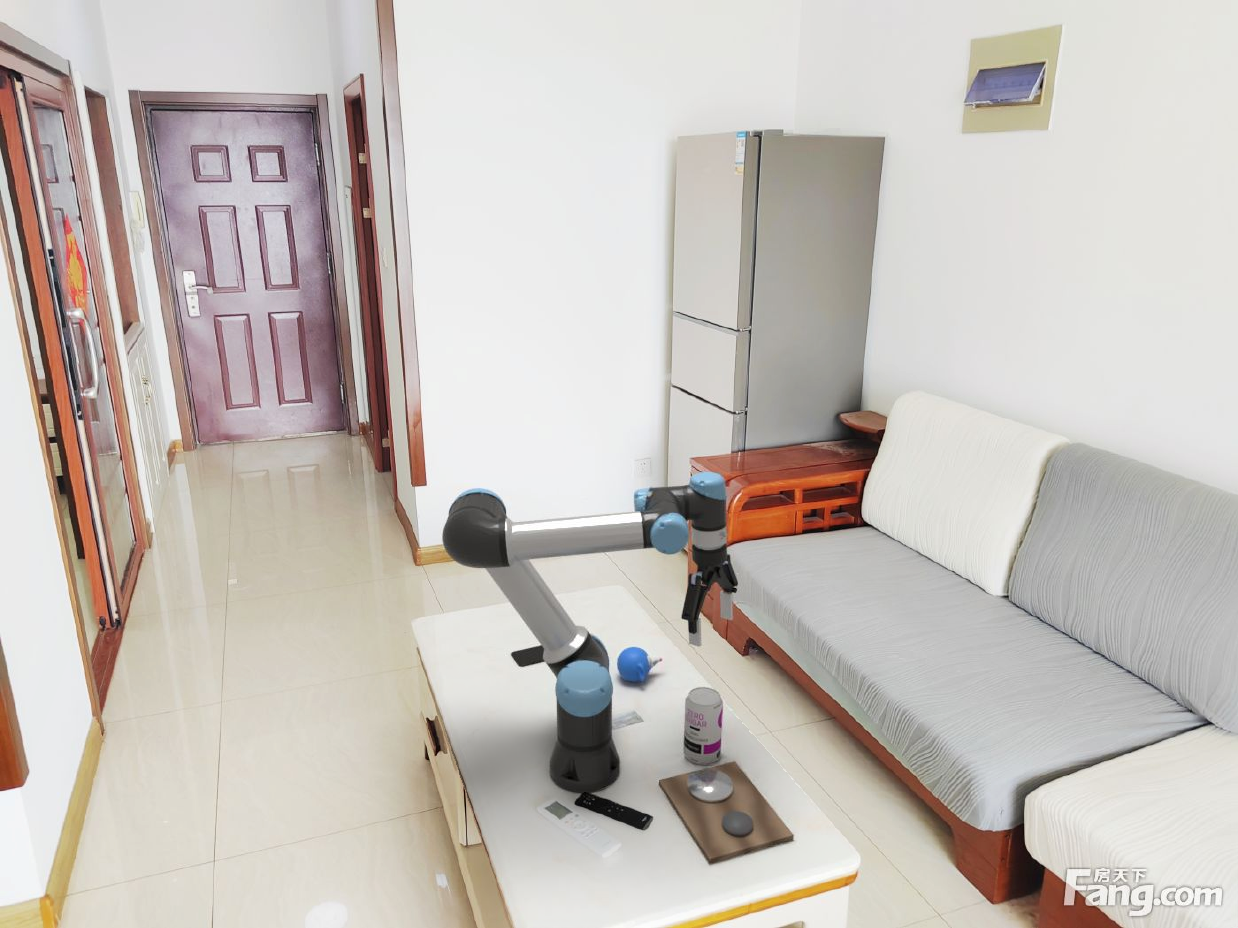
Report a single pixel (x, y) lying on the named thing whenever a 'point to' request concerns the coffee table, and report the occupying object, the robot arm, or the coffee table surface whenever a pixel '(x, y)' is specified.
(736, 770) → the walnut board
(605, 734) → the robot arm
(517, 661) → the smartphone
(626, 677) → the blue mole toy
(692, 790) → the large steel flange
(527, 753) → the coffee table surface
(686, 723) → the supplement can
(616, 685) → the coffee table surface
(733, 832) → the grey disc
